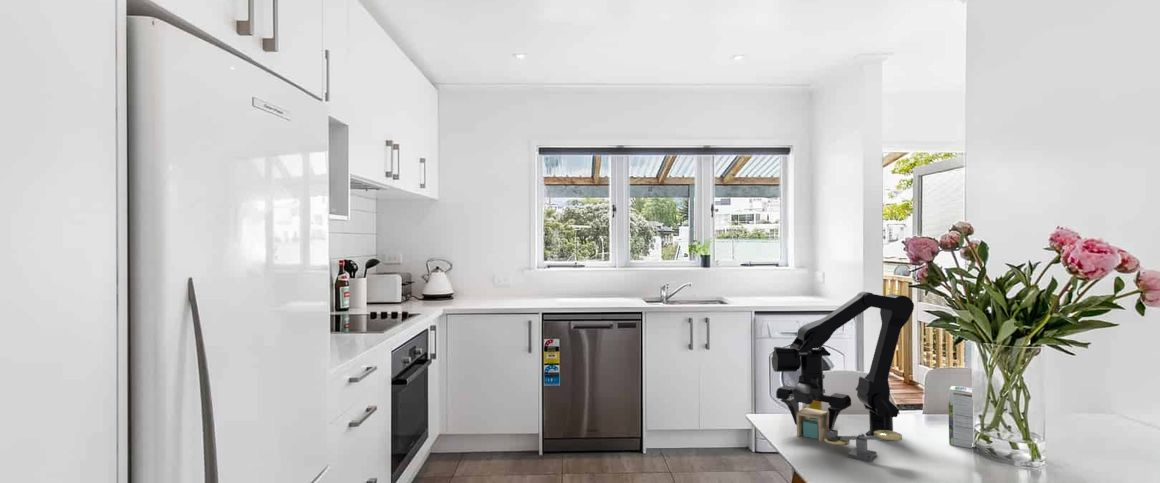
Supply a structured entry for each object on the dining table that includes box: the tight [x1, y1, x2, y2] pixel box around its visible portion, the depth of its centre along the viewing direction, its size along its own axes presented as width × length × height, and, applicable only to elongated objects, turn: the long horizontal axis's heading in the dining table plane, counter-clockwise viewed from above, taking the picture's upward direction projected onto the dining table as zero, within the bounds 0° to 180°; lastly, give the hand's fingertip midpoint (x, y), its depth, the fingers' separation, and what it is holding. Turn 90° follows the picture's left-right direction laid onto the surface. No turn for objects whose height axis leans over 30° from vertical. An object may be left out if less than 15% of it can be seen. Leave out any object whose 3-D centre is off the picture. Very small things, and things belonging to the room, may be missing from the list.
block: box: [802, 419, 819, 440], centre depth 154 cm, size 4×4×4 cm
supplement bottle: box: [802, 400, 823, 420], centre depth 169 cm, size 5×5×10 cm
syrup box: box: [947, 385, 973, 449], centre depth 145 cm, size 6×6×14 cm
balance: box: [823, 428, 903, 463], centre depth 138 cm, size 6×18×7 cm, turn 46°
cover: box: [796, 408, 829, 442], centre depth 154 cm, size 6×6×6 cm
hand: (813, 427), depth 154 cm, fingers open, 9 cm apart
